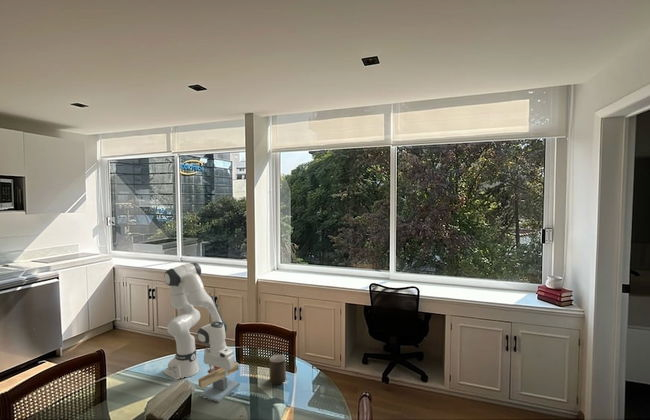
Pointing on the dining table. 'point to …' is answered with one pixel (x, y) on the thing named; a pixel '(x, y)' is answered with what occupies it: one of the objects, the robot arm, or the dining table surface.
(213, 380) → the oak rod
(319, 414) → the dining table surface
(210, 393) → the ridge stand
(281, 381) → the pillar candle
